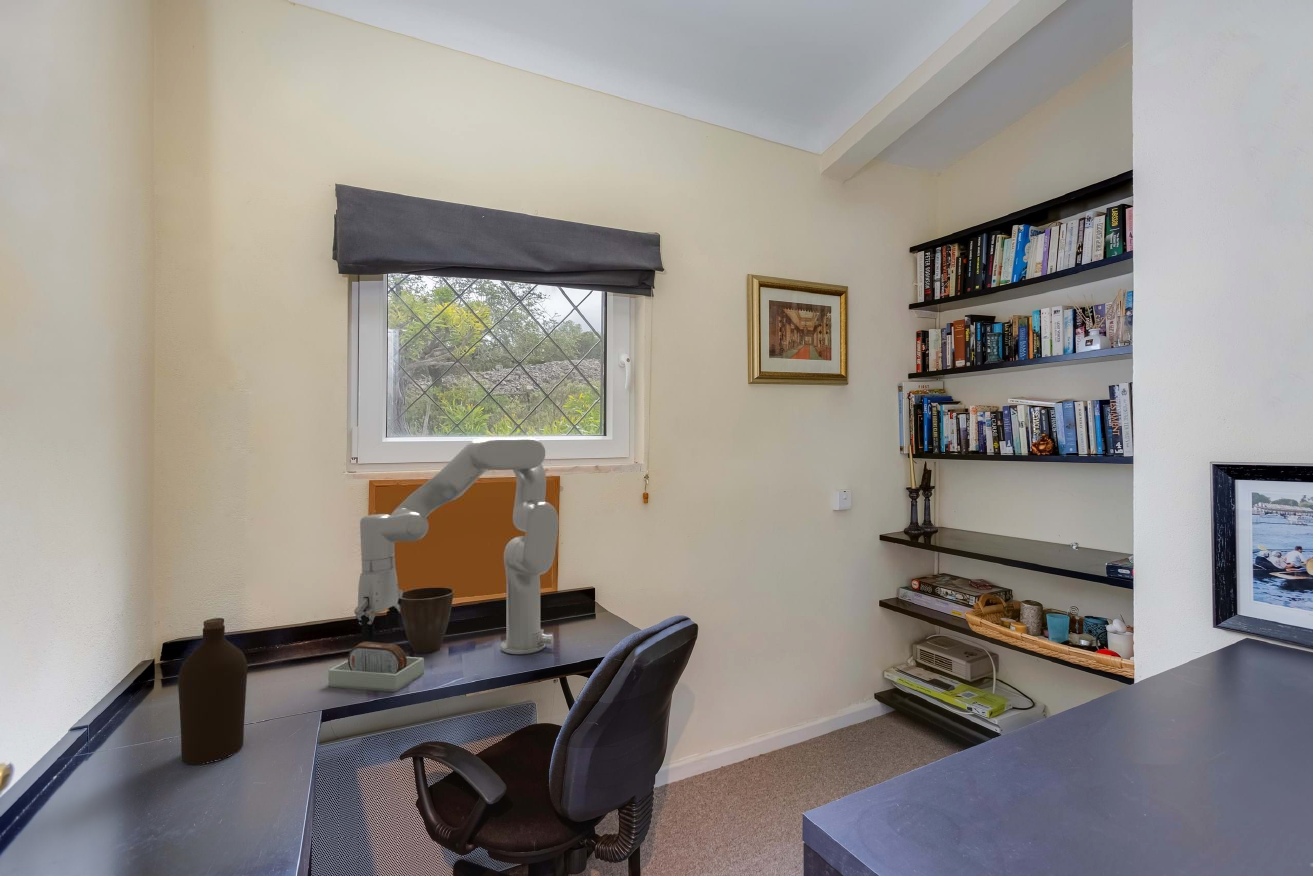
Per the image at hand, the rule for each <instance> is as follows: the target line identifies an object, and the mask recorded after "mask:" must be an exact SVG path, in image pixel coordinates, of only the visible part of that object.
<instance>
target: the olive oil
mask: <svg viewBox="0 0 1313 876" xmlns="http://www.w3.org/2000/svg"><path fill="white" fill-rule="evenodd" d="M224 624H225V618H224V617H223V618H222V617H215V618H210V619H206V620H205V621H204V620H203V628H202V641H201V643H200V644H199V645H198V646H197V647H196V648H195V649H194V650H193V651H192V652H191V653H190V654H189V655H188V656H187V657H186V659H185V660H184V661H183V662H182V664H181V666H180V669H179V672H178V675H177V688H178V689H177V690H178V702H179V706H178V707H179V720H180V721H179V724H180V748H181V749H180V753H181V755H180V756H181V762H182V763H184V764H185V763H186V765H189V764H192V765H193V766H198V765H197V764H201V765H204V764H203V763H207V762H211V761H215V760H219V759H222V760H224V759H223V758H225V757H227V758H229V757H230V756H229V755H231V754H233V753H235V752H236V753H238V752H239V751H240V750H241V749H242V748H243V745H244V732H245V731H244V730H245V713H246V711H245V710H246V696H247V695H246V694H247V682H248V672H249V667H248V661H247V658H246V655H245V653H244V651H242V650H241V649H240V648H238V647H237V646H235V644H233V643H231V642H230V641H229V640H227V638H226V637H225V633H226V632H225V631H226V630H225V629H226V627H225V625H224ZM241 747H242V748H241ZM239 749H240V750H239ZM238 750H239V751H238ZM237 751H238V752H237ZM236 753H235V754H236ZM233 755H234V754H233ZM228 756H229V757H228ZM231 756H232V755H231ZM225 759H226V758H225ZM219 761H220V760H219ZM207 764H208V763H207Z"/></svg>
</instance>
